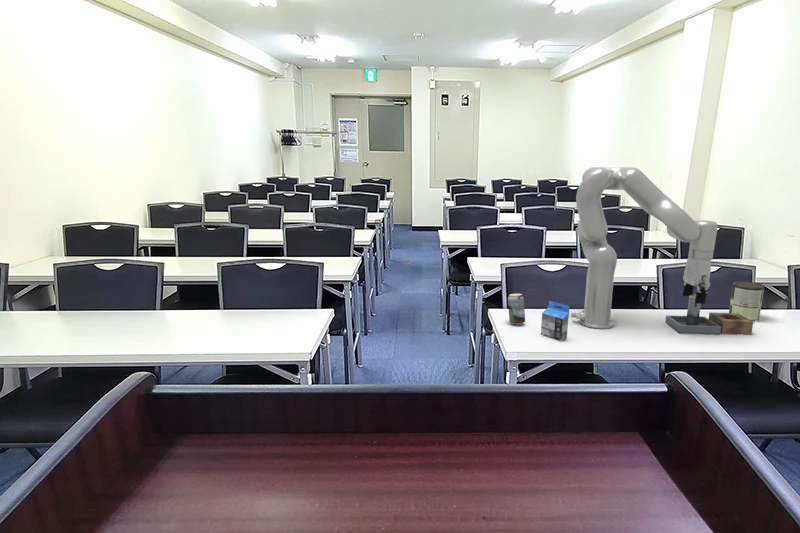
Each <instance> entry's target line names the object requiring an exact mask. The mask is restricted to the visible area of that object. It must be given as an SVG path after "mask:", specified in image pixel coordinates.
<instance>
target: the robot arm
mask: <svg viewBox="0 0 800 533" xmlns="http://www.w3.org/2000/svg"><path fill="white" fill-rule="evenodd" d="M581 178H582V179H581V180H582V181H581V182H580V185H579V186H578V189H577V191H576V196H575V204H576V208H577V213H578V217H579V218H578V219H579V220H578V223H577V232H578V236H579V241H580V244H581V249H582V251H583V255H584V258H585V259H586V260H587V261H588V267H587V270H586V271H587V272H586V279H585V280H586V282H585V293H584V294H585V296H584V308H583V309H582V310H581V311H579V312H571V313H570V317H571V318H575V319H576V320H578V321H579V322H578V323H581V324H580V325H582V324H583V325H582V326H584V325H585V326H584V327H588V328H593V329H601V330H602V329H603V330H604V329H610V328H611V329H612V328H613V327H614V326H615V322H614V320H612V319H611V311H612V301H613V290H614V289H613V288H614V277H615V272H616V266H617V263H618V256H617V252H616V251H615V249H614V247H613V246H611V245H610V244H609V243H608V241H607V237H606V236H607V235H608V223H607V220H606V218H605V217H606V216H605V214H604V209H603V204H602V194H603V192H604V191H609V190H611V191H616V190H617V191H619V190H620V191H621V190H622V191H624V192H625V193H626V194H627V195H628V196H629V197H630V198H631V199H632V200H633V201H634V202H635V203H637V205H638V206H639V207H640V208H641V209H642V210H643V211H644V212H646V213H647V214H649V215H650V216H651V217H653V218H656V219H657V220H658V221H660V222H661V223H662V224H664V226H666V232H667V234H668V235H669V236H670V237H671V238H673V239H675V240H677V241H680V242H683V243H689V249H688V256H687V259H686V260H687V261H686V264H685V267H684V272H683V277H682V278H683V279H682V280H683V281H684V282H683V285H684V286H683V291H682V296H683V297H689V295H690V294H694V288H695V287H696V288H697V289H696V290H697V292H696V299H695V303H698V304H701V305H702V304H703V305H704V304H706V299H707V294H708V291H709V290H710V287H711V282H710V277H711V272H712V271H711V269H712V261H713V258H714V250H715V245H716V240H717V239H716V238H717V232H718V228H719V227H718V226H719V225H718V223H717V222H716V221H713V220H704V219H703V220H702V219H699V220H698V219H697V220H695V219H693V218H692V216H690V215H689V214H688V213H687V212H686V211H685V210H684V209H682V207H680V206H679V205H677V204H678V203H677V204H676V203H675V202H674V201H673V200H672V199H671V198H670V197H669V196H668V195H667V194H665V193H664V192H663V191H662V190H661V189H660V188H659V187H658V186H657V185H656V184H655V183H654V182H653V181H652V180H651V179H650V178H649V177H648V176H647V175H646V174H645V173H644V172H643V171H642V170H640V169H639V168H637V167H629V166H628V167H626V166H624V167H603V166H601V167H600V166H597V167H596V166H595V167H594V166H593V167H589V168H588V169H586V170H585V171H584V172H583V173H582V177H581Z"/></svg>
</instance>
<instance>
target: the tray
mask: <svg viewBox="0 0 800 533" xmlns="http://www.w3.org/2000/svg"><path fill="white" fill-rule="evenodd" d="M686 318H687V315H669V314H668V315H666V316H665V324H666V323H667V326H669V327H670V328H671V329H672V330H674V331H675V332H677V333H678V334H683V335H686V334H687V335H688V334H689V335H711V334H713V335H714V334H715V335H714V336H717V335H719V336H720V335H721V333H720V332H721V327H720V326H719V325H717V324H716V323H714V322H713V321H711V320H709V317H708V318H707V317H706V316H700V315H699V323H698V326H697V325H686Z"/></svg>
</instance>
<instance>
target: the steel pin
mask: <svg viewBox="0 0 800 533" xmlns="http://www.w3.org/2000/svg"><path fill="white" fill-rule="evenodd" d="M695 299H696V294H694V293H693V294H690V295H689V296H688V302H687V312H686V316H687V318H686V325H697V326H698V323H699V316H700V315H701V307H702V306H701V305H702V304H698V303H695Z"/></svg>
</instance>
